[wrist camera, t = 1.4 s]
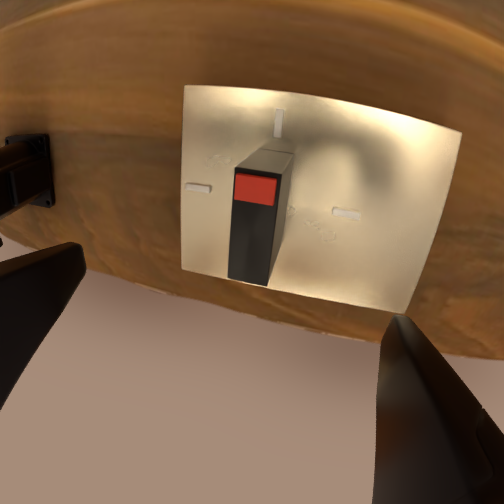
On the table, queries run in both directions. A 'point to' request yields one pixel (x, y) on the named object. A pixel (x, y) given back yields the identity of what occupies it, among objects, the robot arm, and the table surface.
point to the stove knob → (258, 215)
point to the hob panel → (319, 189)
